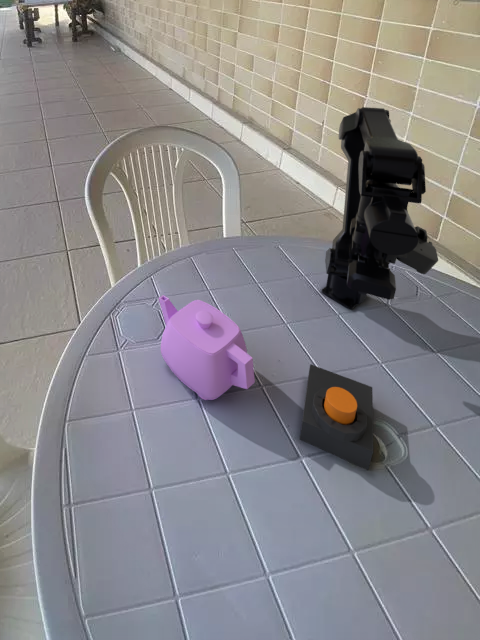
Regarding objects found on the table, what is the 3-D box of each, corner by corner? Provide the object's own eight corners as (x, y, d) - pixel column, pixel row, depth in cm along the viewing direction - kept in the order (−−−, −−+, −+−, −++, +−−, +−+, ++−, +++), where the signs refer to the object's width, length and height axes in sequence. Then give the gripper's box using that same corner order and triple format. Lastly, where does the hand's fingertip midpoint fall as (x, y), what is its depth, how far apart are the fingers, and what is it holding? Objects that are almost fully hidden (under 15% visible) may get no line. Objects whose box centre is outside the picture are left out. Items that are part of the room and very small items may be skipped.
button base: (307, 381, 74) (311, 356, 71) (367, 405, 69) (374, 378, 67) (299, 442, 65) (303, 415, 62) (368, 474, 60) (375, 446, 58)
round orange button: (325, 394, 66) (327, 382, 65) (354, 405, 64) (357, 394, 63) (322, 416, 62) (325, 404, 62) (354, 429, 60) (357, 417, 60)
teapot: (270, 387, 73) (277, 332, 68) (225, 435, 66) (229, 377, 62) (182, 319, 88) (183, 269, 84) (138, 352, 81) (136, 300, 77)
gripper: (449, 266, 58) (424, 350, 63) (432, 201, 72) (413, 274, 78) (354, 244, 63) (339, 323, 69) (357, 188, 78) (344, 257, 84)
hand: (362, 292), depth 75 cm, fingers closed
